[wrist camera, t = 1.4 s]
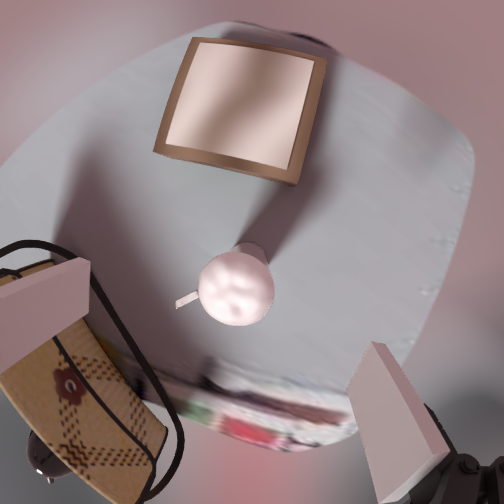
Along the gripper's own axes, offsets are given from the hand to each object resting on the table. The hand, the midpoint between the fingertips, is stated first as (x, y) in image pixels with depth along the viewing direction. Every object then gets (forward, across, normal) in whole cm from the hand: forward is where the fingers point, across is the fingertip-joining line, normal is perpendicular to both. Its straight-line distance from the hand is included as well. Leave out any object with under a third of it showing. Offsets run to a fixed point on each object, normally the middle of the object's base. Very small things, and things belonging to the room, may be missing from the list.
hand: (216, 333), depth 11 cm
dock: (+13, -4, +12) cm, 18 cm away
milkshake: (+13, 0, 0) cm, 13 cm away
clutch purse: (+13, -12, -14) cm, 23 cm away
